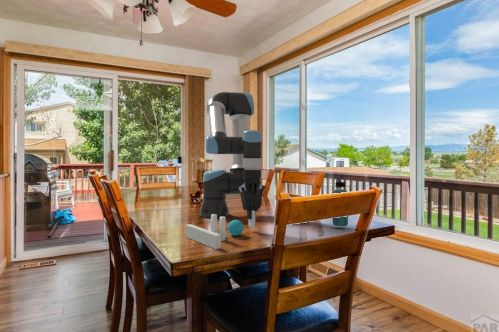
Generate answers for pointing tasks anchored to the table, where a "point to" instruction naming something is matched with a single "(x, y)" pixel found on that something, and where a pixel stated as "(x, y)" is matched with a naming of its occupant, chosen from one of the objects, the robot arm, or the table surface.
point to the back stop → (203, 236)
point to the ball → (235, 227)
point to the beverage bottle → (342, 220)
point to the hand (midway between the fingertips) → (251, 226)
